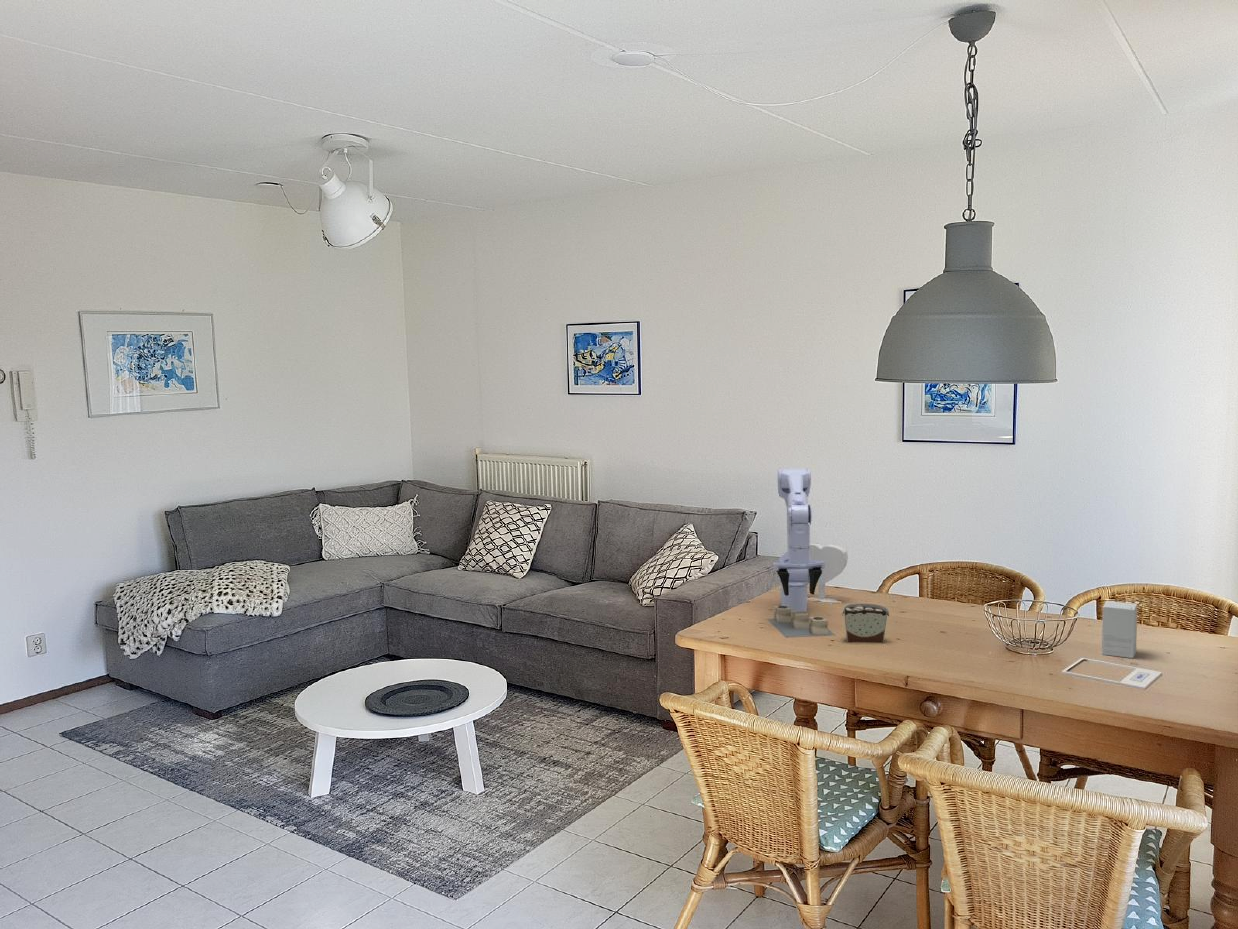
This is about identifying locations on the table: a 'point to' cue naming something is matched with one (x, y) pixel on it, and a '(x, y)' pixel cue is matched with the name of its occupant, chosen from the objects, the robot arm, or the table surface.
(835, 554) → the heart sculpture
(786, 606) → the dotted block
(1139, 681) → the photo frame
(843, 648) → the table surface
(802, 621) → the plain block
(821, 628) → the dotted block
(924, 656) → the table surface
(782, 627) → the tapping mat
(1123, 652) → the supplement box
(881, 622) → the food container
